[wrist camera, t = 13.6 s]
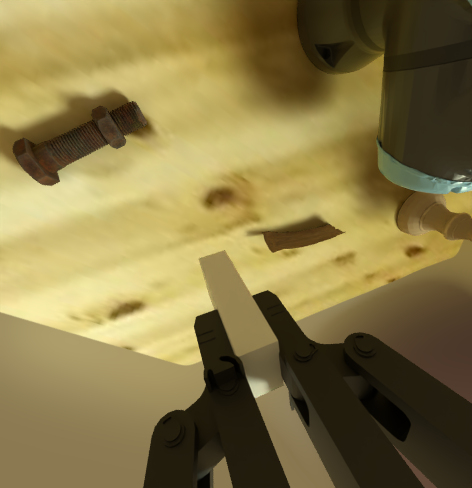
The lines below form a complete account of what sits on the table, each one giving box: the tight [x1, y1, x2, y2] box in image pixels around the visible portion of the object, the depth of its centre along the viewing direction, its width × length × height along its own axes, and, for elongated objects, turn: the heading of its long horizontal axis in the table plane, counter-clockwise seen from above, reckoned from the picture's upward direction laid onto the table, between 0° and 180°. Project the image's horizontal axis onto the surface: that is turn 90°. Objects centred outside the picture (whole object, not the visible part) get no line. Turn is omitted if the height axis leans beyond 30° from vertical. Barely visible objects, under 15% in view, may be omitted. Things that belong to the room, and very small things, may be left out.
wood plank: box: [262, 224, 345, 252], centre depth 51 cm, size 15×2×5 cm, turn 93°
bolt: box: [13, 101, 147, 186], centre depth 33 cm, size 6×5×15 cm
